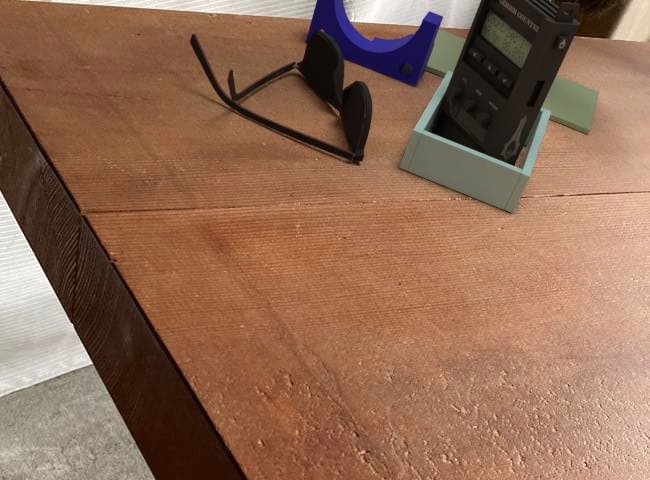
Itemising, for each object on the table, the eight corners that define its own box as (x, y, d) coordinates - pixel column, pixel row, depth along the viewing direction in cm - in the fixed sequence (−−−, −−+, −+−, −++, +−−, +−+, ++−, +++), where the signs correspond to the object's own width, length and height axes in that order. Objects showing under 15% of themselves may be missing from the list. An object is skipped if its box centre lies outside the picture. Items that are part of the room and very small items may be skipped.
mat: (597, 96, 109) (599, 91, 109) (587, 134, 101) (590, 129, 101) (430, 30, 111) (432, 26, 110) (407, 63, 102) (409, 58, 102)
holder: (535, 145, 96) (551, 111, 93) (512, 213, 85) (530, 176, 82) (434, 105, 97) (448, 70, 94) (398, 167, 85) (413, 129, 83)
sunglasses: (169, 56, 89) (179, -1, 86) (312, 74, 95) (328, 20, 91) (216, 152, 79) (229, 91, 76) (374, 166, 85) (394, 110, 81)
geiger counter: (415, 123, 93) (479, -50, 82) (453, 124, 95) (520, -45, 84) (475, 183, 87) (553, 7, 76) (514, 182, 89) (595, 10, 78)
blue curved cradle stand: (424, 72, 102) (446, 12, 97) (415, 86, 99) (437, 25, 94) (317, 30, 103) (335, -32, 98) (305, 42, 99) (322, -21, 95)
